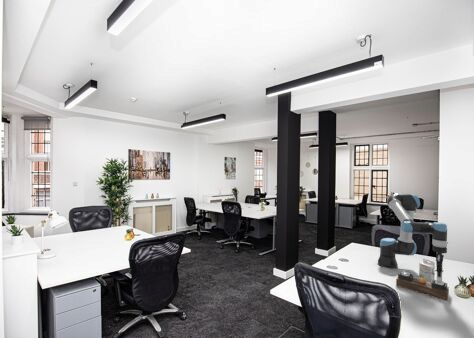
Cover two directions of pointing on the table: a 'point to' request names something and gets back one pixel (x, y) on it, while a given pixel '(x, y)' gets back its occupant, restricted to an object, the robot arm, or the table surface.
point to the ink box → (427, 270)
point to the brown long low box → (423, 286)
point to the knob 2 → (439, 282)
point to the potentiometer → (421, 280)
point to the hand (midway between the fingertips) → (439, 281)
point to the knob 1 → (405, 274)
